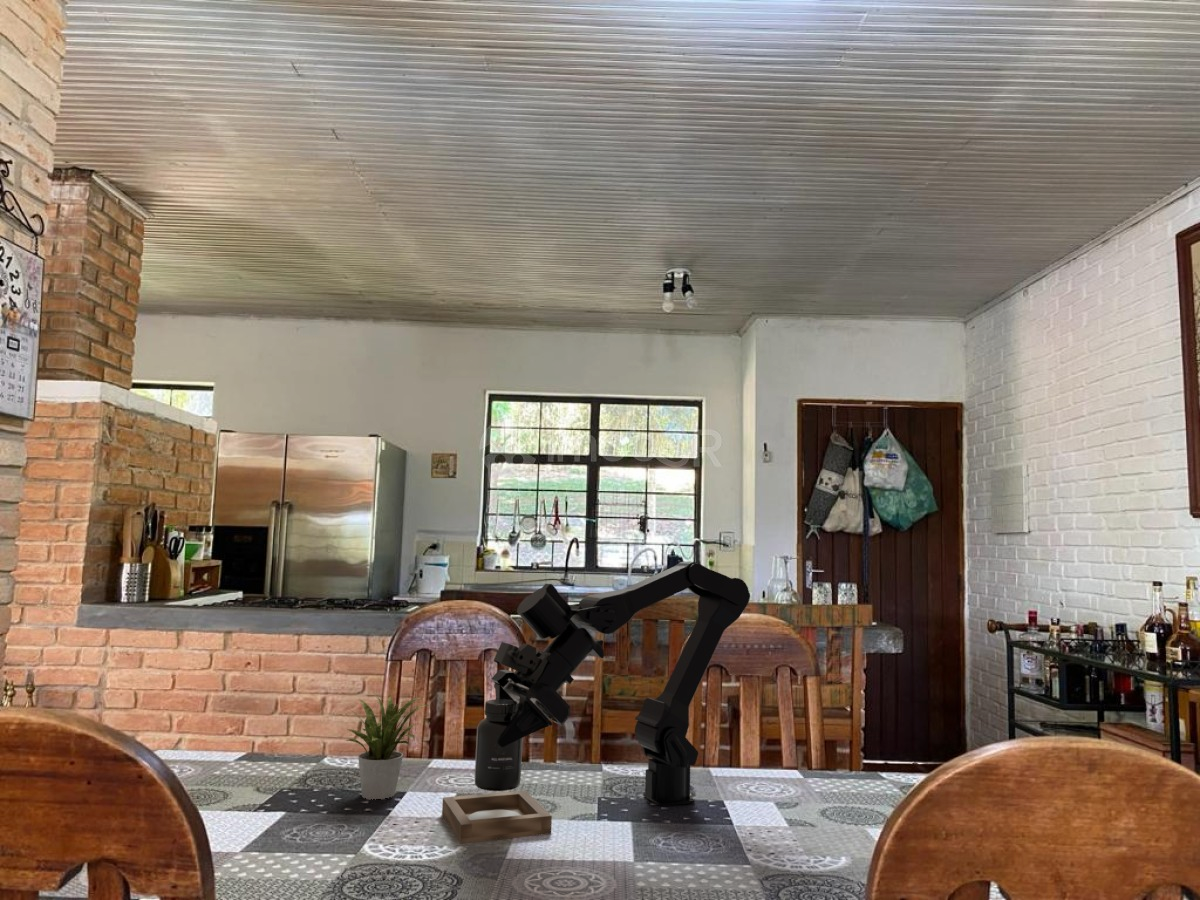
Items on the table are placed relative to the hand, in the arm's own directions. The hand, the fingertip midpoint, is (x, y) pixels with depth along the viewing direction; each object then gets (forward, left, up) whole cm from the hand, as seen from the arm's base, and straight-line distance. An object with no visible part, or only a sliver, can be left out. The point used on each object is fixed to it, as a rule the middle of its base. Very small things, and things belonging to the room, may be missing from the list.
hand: (490, 739), depth 117 cm
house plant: (+12, -19, -12) cm, 26 cm away
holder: (-1, 0, -12) cm, 12 cm away
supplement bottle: (-1, 0, -7) cm, 7 cm away
